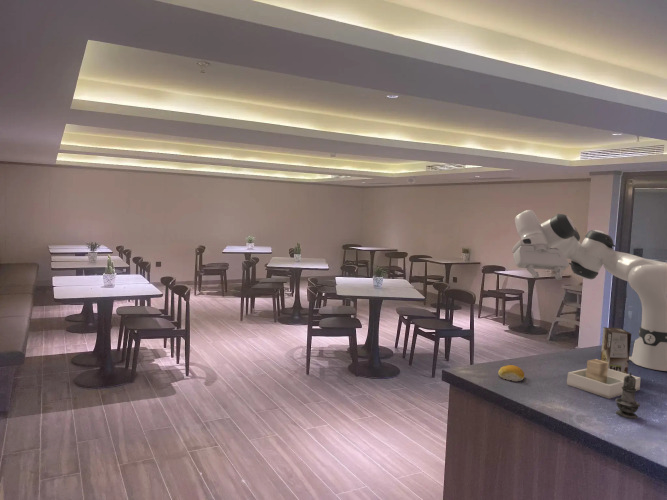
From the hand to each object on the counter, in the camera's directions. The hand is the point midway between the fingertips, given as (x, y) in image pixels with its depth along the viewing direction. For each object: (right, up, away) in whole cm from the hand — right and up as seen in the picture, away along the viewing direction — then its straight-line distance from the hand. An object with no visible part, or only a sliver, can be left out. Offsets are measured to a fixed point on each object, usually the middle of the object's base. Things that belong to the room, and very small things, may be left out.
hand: (547, 277), depth 174 cm
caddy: (+11, -35, -16) cm, 40 cm away
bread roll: (-17, -33, -10) cm, 39 cm away
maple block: (+7, -34, -18) cm, 39 cm away
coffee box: (+23, -34, -1) cm, 41 cm away
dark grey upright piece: (+5, -36, -39) cm, 53 cm away
